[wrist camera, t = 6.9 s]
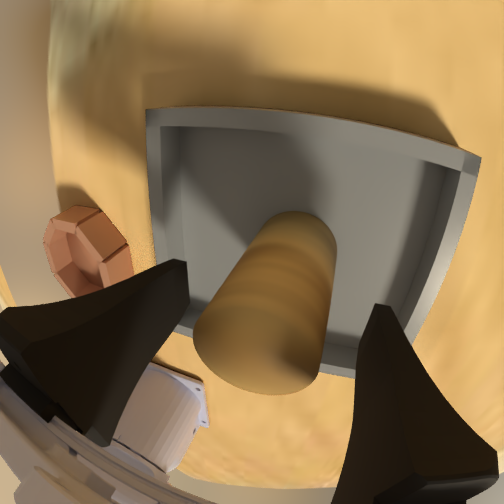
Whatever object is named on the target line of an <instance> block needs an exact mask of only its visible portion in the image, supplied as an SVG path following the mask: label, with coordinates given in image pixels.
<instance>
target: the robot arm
mask: <svg viewBox="0 0 504 504" xmlns="http://www.w3.org/2000/svg"><path fill="white" fill-rule="evenodd" d="M189 304H190V294H189V282H188V270H187V261H182V260H178V259H174V258H173V259H170V260H168V261H165V262H163V263H161V264H158V265H156V266H154V267H152V268H150V269H147V270H145V271H143V272H141V273H139V274H136V275H134V276H132V277H130V278H128V279H125V280H123V281H120V282H118V283H116V284H113V285H111V286H108V287H106V288H103V289H101V290H98V291H95V292H92V293H89V294H86V295H83V296H79V297H75V298H71V299H67V300H63V301H59V302H54V303H48V304H41V305H34V306H21V307H8V308H6V309H5V310H3V311H2V312H1V313H0V350H1V351H2V353H3V354H4V356H5V357H6V359H7V360H8V362H9V364H8V365H7V366H6V367H5V366H4V364H3V363H2V362H1V361H0V455H1V456H2V458H3V459H4V460H5V462H6V463H7V464H8V466H9V467H10V468H11V470H12V471H13V472H14V474H15V475H16V476H17V477H18V479H19V480H20V481H21V484H20V485H19V487H18V488H17V490H16V491H15V492H14V499H15V502H16V504H217V503H214V502H211V501H208V500H205V499H203V498H200V497H197V496H195V495H192V494H190V493H187V492H185V491H182V490H180V489H177V488H175V487H172V485H171V484H170V483H168V482H167V481H168V480H169V478H170V476H168V475H167V474H166V473H167V472H169V471H172V470H173V469H175V468H176V467H177V466H178V465H179V464H180V462H181V461H182V459H183V457H184V455H185V453H186V451H187V449H188V447H189V445H190V444H191V442H192V440H193V438H194V436H195V434H196V432H197V430H198V428H199V426H203V427H206V428H208V427H209V425H210V424H209V417H208V410H207V403H206V396H205V388H204V384H203V383H202V382H201V381H199V380H196V379H193V378H190V377H188V376H185V375H182V374H180V373H177V372H174V371H172V370H169V369H167V368H164V367H162V366H159V365H157V364H154V363H152V362H150V361H151V360H152V358H153V357H154V356H155V354H156V353H157V352H158V350H159V349H160V348H161V346H162V345H163V344H164V342H165V341H166V340H167V338H168V337H169V336H170V334H171V333H172V332H173V330H174V329H175V328H176V326H177V325H178V323H179V322H180V320H181V319H182V317H183V315H184V313H185V311H186V309H187V307H188V306H189ZM76 431H77V432H76ZM498 478H499V469H498V457H497V451H496V450H495V449H493V448H492V447H491V446H490V445H489V444H488V443H487V442H485V441H484V440H483V439H482V438H481V437H480V436H479V435H478V434H477V433H476V432H475V431H474V430H473V429H472V428H471V427H470V426H469V425H468V424H467V423H466V422H465V421H464V420H463V419H462V418H461V417H460V415H459V414H458V413H457V412H456V411H455V410H454V408H453V407H452V406H451V405H450V403H449V402H448V401H447V400H446V399H445V397H444V396H443V395H442V393H441V392H440V391H439V389H438V388H437V386H436V385H435V383H434V382H433V381H432V379H431V378H430V376H429V375H428V373H427V371H426V370H425V368H424V367H423V365H422V363H421V362H420V360H419V358H418V357H417V355H416V353H415V351H414V350H413V348H412V346H411V344H410V342H409V340H408V338H407V337H406V335H405V333H404V331H403V329H402V327H401V325H400V323H399V321H398V319H397V317H396V315H395V313H394V311H393V310H392V308H391V306H388V305H383V304H378V303H375V304H374V307H373V309H372V312H371V315H370V317H369V320H368V322H367V325H366V327H365V330H364V332H363V334H362V337H361V339H360V342H359V347H358V353H357V361H356V371H355V394H354V412H353V422H352V429H351V434H350V439H349V444H348V448H347V452H346V456H345V460H344V464H343V468H342V471H341V475H340V478H339V481H338V484H337V488H336V491H335V494H334V496H333V499H332V502H331V504H466V500H467V499H470V498H472V497H474V496H475V495H477V494H479V493H481V492H483V491H484V490H486V489H488V488H489V487H491V486H492V485H493V484H495V483H496V481H497V480H498Z"/></svg>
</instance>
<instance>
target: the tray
mask: <svg viewBox="0 0 504 504" xmlns="http://www.w3.org/2000/svg"><path fill="white" fill-rule="evenodd" d="M146 149H147V170H148V185H149V199H150V210H151V221H152V230H153V239H154V248H155V256H156V263H157V265H158V264H161V263H163V262H165V261H168V260H170V259H173V258H174V259H178V260H182V261H187V270H188V282H189V294H190V304H189V306H188V307H187V309H186V311H185V313H184V315H183V317H182V319H181V320H180V322H179V323H178V325H177V326H176V328H175V329H174V330H173V331H174V332H176V333H179V334H182V335H185V336H188V337H191V338H193V329H194V326H195V323H196V321H197V320H198V319H199V317H200V316H201V314H202V313H203V311H204V310H205V308H206V307H207V305H208V304H209V303H210V301H211V300H212V298H213V297H214V295H215V294H216V292H217V291H218V290H219V288H220V287H221V285H222V284H223V282H224V281H225V279H226V278H227V277H228V275H229V274H230V272H231V271H232V269H233V268H234V267H235V265H236V264H237V262H238V261H239V259H240V258H241V256H242V255H243V254H244V252H245V251H246V249H247V248H248V246H249V245H250V244H251V242H252V241H253V239H254V238H255V236H256V235H257V233H258V232H259V231H260V229H261V228H262V226H263V225H264V224H265V223H266V222H267V221H268V220H269V219H270V218H271V217H273V216H275V215H277V214H279V213H282V212H286V211H301V212H305V213H309V214H311V215H314V216H315V217H317V218H319V219H320V220H321V221H323V222H324V223H325V224H326V225H327V226H328V227H329V229H330V230H331V231H332V233H333V235H334V237H335V240H336V244H337V260H336V268H335V276H334V284H333V291H332V298H331V305H330V312H329V318H328V325H327V331H326V336H325V342H324V348H323V353H322V358H321V364H320V369H319V372H322V373H327V374H332V375H337V376H343V377H348V378H354V379H355V371H356V361H357V353H358V347H359V342H360V339H361V337H362V334H363V332H364V330H365V327H366V325H367V322H368V320H369V317H370V315H371V312H372V309H373V307H374V304H375V303H378V304H383V305H388V306H391V308H392V310H393V311H394V313H395V315H396V317H397V319H398V321H399V323H400V325H401V327H402V329H403V331H404V333H405V335H406V337H407V338H408V340H409V342H410V344H411V345H412V343H413V342H414V340H415V338H416V336H417V334H418V332H419V331H420V329H421V327H422V325H423V323H424V321H425V319H426V317H427V315H428V313H429V311H430V309H431V307H432V305H433V302H434V300H435V298H436V296H437V294H438V292H439V289H440V287H441V285H442V282H443V280H444V278H445V275H446V273H447V271H448V268H449V266H450V263H451V260H452V258H453V255H454V253H455V250H456V247H457V244H458V242H459V239H460V236H461V233H462V230H463V227H464V224H465V221H466V217H467V214H468V211H469V207H470V204H471V200H472V197H473V193H474V189H475V185H476V181H477V177H478V172H479V168H480V163H481V157H479V156H477V155H475V154H473V153H471V152H469V151H467V150H464V149H462V148H460V147H457V146H454V145H451V144H448V143H445V142H442V141H438V140H435V139H432V138H428V137H425V136H421V135H418V134H414V133H410V132H407V131H403V130H399V129H395V128H390V127H386V126H382V125H377V124H372V123H368V122H363V121H357V120H352V119H347V118H341V117H335V116H328V115H322V114H315V113H307V112H299V111H290V110H280V109H268V108H254V107H234V106H173V107H164V108H155V109H147V110H146Z"/></svg>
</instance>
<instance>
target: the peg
mask: <svg viewBox="0 0 504 504" xmlns="http://www.w3.org/2000/svg"><path fill="white" fill-rule="evenodd" d="M336 260H337V244H336V240H335V237H334V235H333V233H332V231H331V230H330V229H329V227H328V226H327V225H326V224H325V223H324V222H323V221H321V220H320V219H319V218H317V217H315V216H314V215H311V214H309V213H305V212H301V211H286V212H282V213H279V214H277V215H275V216H273V217H271V218H270V219H269V220H268V221H267V222H266V223H265V224H264V225H263V226H262V228H261V229H260V231H259V232H258V233H257V235H256V236H255V238H254V239H253V241H252V242H251V244H250V245H249V246H248V248H247V249H246V251H245V252H244V254H243V255H242V256H241V258H240V259H239V261H238V262H237V264H236V265H235V267H234V268H233V269H232V271H231V272H230V274H229V275H228V277H227V278H226V279H225V281H224V282H223V284H222V285H221V287H220V288H219V290H218V291H217V292H216V294H215V295H214V297H213V298H212V300H211V301H210V303H209V304H208V305H207V307H206V308H205V310H204V311H203V313H202V314H201V316H200V317H199V319H198V320H197V321H196V323H195V326H194V329H193V343H194V346H195V349H196V351H197V353H198V355H199V357H200V358H201V360H202V361H203V362H204V364H205V365H206V366H207V367H208V368H209V369H210V370H211V371H212V372H213V373H215V374H216V375H217V376H219V377H220V378H221V379H223V380H224V381H226V382H228V383H230V384H231V385H233V386H236V387H238V388H240V389H243V390H246V391H249V392H253V393H257V394H262V395H286V394H291V393H295V392H298V391H300V390H302V389H304V388H306V387H307V386H309V385H310V384H311V383H312V382H313V381H314V380H315V378H316V377H317V375H318V372H319V369H320V364H321V358H322V353H323V348H324V342H325V336H326V331H327V325H328V318H329V312H330V305H331V298H332V291H333V284H334V276H335V268H336Z"/></svg>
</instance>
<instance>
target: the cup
mask: <svg viewBox="0 0 504 504" xmlns="http://www.w3.org/2000/svg"><path fill="white" fill-rule="evenodd" d="M43 240H44V242H43V244H44V247H45V251H46V254H47V258H48V261H49V264H50V267H51V270H52V272H53V273H55V274H54V276H55V278H56V279H57V280H58V281H59V283H60V284H61V285H62V287H63V288H64V289H65V290H66V292H67V293H68V294H69V295H70V296H71V298H75V297H79V296H83V295H86V294H89V293H92V292H95V291H98V290H101V289H103V288H106V287H108V286H111V285H113V284H116V283H118V282H120V281H123V280H125V279H128V278H130V277H132V276H134V272H133V267H132V261H131V256H130V250H129V246H128V245H126V244H125V243H126V242H127V241H126V240H125V239H124V237H123V236H122V235H121V234H120V233H119V231H118V230H117V229H116V228H115V226H114V225H113V224H112V223H111V221H110V220H109V219H108V218H107V216H106V215H105V214H104V212H103V211H102V212H101V213H100V209H96V208H90V207H84V206H78V205H75V206H73V207H71V208H69V209H68V210H66V211H64V212H62V213H60V214H59V215H57V216H55V217H53V218H52V219H50V221H49V224H48V226H47V229H46V232H45V235H44V237H43Z"/></svg>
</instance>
